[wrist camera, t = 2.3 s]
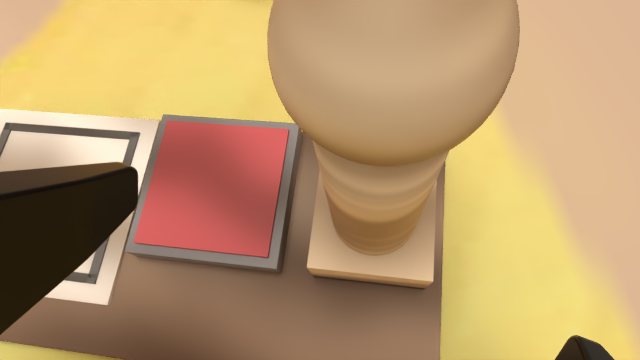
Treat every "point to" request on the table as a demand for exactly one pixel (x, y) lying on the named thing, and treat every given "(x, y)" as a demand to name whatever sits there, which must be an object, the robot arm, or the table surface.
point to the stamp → (386, 117)
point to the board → (211, 250)
